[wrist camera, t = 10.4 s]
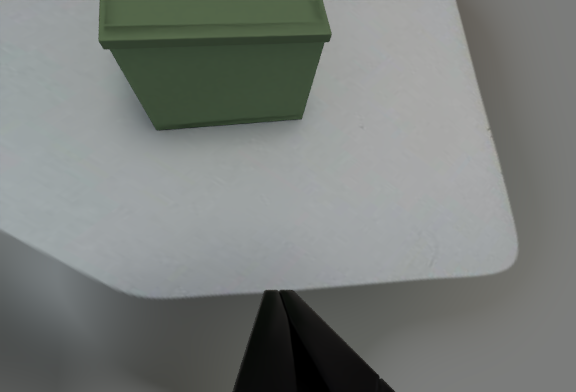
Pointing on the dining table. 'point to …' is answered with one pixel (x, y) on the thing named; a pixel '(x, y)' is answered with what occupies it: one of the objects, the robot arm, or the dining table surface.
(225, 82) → the storage box
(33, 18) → the dining table surface
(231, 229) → the dining table surface
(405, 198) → the dining table surface
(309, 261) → the dining table surface
